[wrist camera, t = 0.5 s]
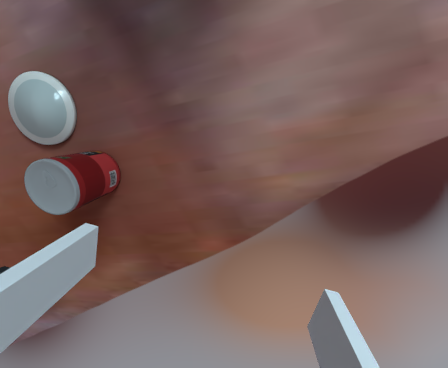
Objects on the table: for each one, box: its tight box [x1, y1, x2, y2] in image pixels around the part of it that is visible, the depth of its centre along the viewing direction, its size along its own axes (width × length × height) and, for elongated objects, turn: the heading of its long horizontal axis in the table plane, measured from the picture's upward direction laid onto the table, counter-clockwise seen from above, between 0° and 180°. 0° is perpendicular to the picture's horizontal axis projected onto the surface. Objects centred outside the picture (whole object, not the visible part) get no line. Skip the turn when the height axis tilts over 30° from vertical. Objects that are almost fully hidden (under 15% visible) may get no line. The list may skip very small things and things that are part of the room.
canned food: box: [24, 151, 120, 215], centre depth 34 cm, size 8×8×11 cm
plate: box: [8, 71, 77, 145], centre depth 37 cm, size 12×12×1 cm
